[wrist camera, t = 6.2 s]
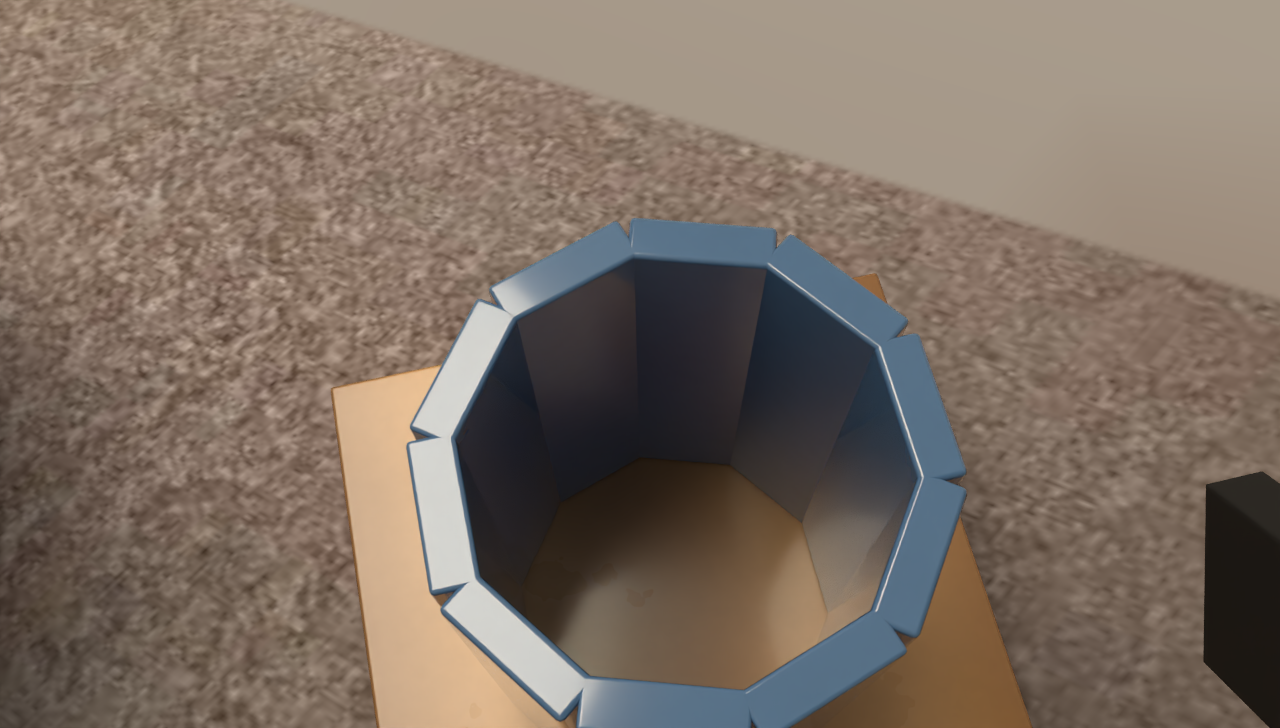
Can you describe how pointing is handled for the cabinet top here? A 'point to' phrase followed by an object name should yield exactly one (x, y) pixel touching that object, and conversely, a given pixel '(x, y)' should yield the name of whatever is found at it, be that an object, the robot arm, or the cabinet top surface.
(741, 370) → the blue planter
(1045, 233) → the cabinet top surface
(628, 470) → the wooden block
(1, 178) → the cabinet top surface
